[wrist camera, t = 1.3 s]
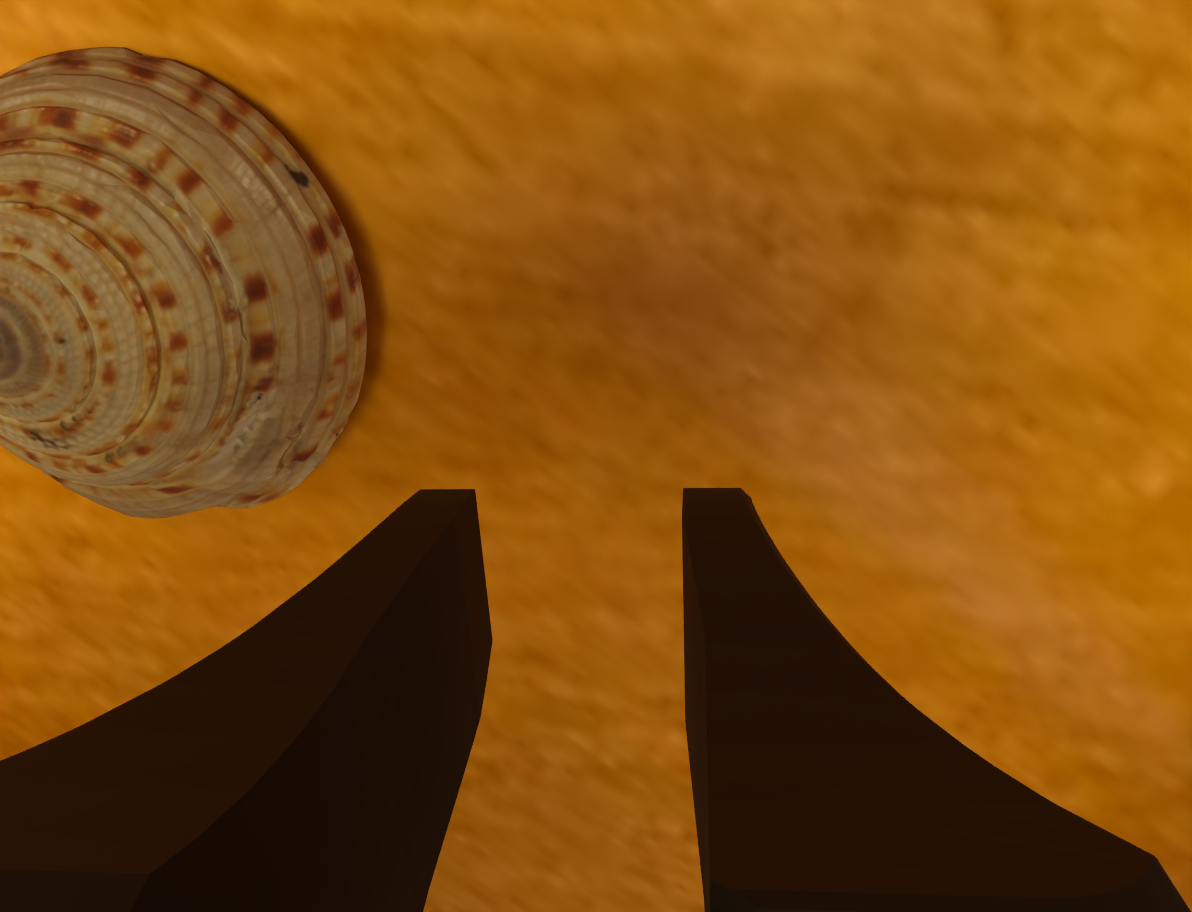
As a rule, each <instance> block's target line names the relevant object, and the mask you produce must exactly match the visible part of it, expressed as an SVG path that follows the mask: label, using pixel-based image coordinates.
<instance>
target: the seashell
mask: <svg viewBox="0 0 1192 912" xmlns="http://www.w3.org/2000/svg"><path fill="white" fill-rule="evenodd" d="M366 343H367V327H366V308H365V301H364V295H363V290H362V284H361V278H360V274H359V271H358V268H357V265H356V261H355V257H354V253H353V250H352V247H351V244H350V242H349V239H348V236H347V233H346V231H345V229H344V226H343V224H342V222H341V220H340V218H339V216H338V214H337V211H336V209H335V208H334V206H333V204H332V202H331V200H330V199H329V197H328V195H327V193H326V192H325V190H324V189H323V187H322V186H321V184H320V182H319V181H318V180H317V178H316V177H315V175H314V174H313V173H312V171H311V170H310V169H309V167H308V166H307V165H306V163H305V162H304V160H303V159H302V158H301V156H300V155H299V154H298V152H297V151H296V150H295V149H294V148H293V147H292V145H291V144H290V143H289V142H288V141H287V140H286V138H285V137H284V136H283V135H282V134H281V132H280V131H279V130H278V129H276V128H275V127H274V126H273V125H272V124H271V123H270V122H269V121H268V120H267V119H266V118H265V117H264V116H263V115H262V114H261V113H259V112H258V111H257V110H256V109H254V108H253V107H252V106H250V105H249V104H248V103H246V102H245V101H244V100H242V99H241V98H240V97H238V96H237V95H236V94H234V93H233V92H232V91H230V90H229V89H228V88H226V87H224V86H223V85H221V84H219V83H217V82H216V81H214V80H212V79H211V78H209V77H207V76H206V75H204V74H202V73H200V72H199V71H196V70H194V69H192V68H190V67H187V66H185V65H183V64H181V63H178V62H176V61H174V60H168V59H162V58H157V57H151V56H145V55H142V54H140V53H137V52H134V51H131V50H128V49H125V48H113V47H99V48H89V49H79V50H70V51H65V52H61V53H56V54H52V55H47V56H43V57H39V58H36V59H34V60H32V61H30V62H28V63H26V64H24V65H22V66H20V67H18V68H15V69H13V70H11V71H9V72H7V73H5V74H3V75H2V76H0V445H2V446H3V447H4V448H6V449H7V450H8V451H10V452H11V453H13V454H14V455H16V456H17V457H19V458H21V459H22V460H24V461H25V462H27V463H29V464H31V465H33V466H35V467H37V468H39V469H41V470H42V471H43V472H44V474H46V475H48V476H50V477H51V478H53V479H55V480H57V481H58V482H60V483H61V484H62V485H63V486H64V487H66V488H68V489H70V490H72V491H74V492H76V493H78V494H80V495H82V496H84V497H86V498H88V499H90V500H92V501H94V502H96V503H98V504H100V505H103V506H105V507H108V508H110V509H113V510H115V511H118V512H120V513H123V514H125V515H128V516H132V517H142V518H164V517H171V516H176V515H181V514H185V513H189V512H193V511H197V510H202V509H206V508H210V507H214V506H219V507H225V508H248V507H252V506H256V505H260V504H264V503H266V502H269V501H271V500H274V499H276V498H278V497H281V496H283V495H284V494H286V493H287V492H289V491H291V490H292V489H294V488H295V487H297V486H299V485H300V484H301V483H302V482H303V481H304V480H305V478H306V477H307V476H308V475H309V474H310V473H311V472H312V471H313V470H314V469H316V468H317V467H318V466H319V465H321V464H322V463H323V462H324V460H325V458H326V456H327V454H328V452H329V450H330V447H331V446H332V445H333V443H334V442H335V440H336V439H337V438H338V436H339V435H340V434H341V433H342V432H343V430H344V429H343V427H344V426H345V425H346V424H347V423H348V417H349V416H350V414H351V412H352V410H353V408H354V406H355V404H356V403H357V401H358V397H359V393H360V389H361V384H362V380H363V375H364V369H365V363H366Z"/></svg>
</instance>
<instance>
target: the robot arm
mask: <svg viewBox="0 0 1192 912" xmlns="http://www.w3.org/2000/svg"><path fill="white" fill-rule="evenodd" d="M682 540H683V602H684V664H685V722H686V731H687V741H688V751H689V760H690V770H691V780H692V789H693V798H694V808H695V817H696V827H697V836H698V846H699V855H700V865H701V874H702V883H703V893H704V905H705V912H1191V911H1190V909H1189V908H1188V906H1187V905H1186V903H1185V902H1184V900H1183V899H1182V897H1181V896H1180V894H1179V892H1178V891H1177V889H1176V888H1175V886H1174V885H1173V883H1172V882H1171V880H1170V879H1169V877H1168V875H1167V874H1166V872H1165V871H1164V869H1163V867H1162V866H1161V864H1160V863H1159V861H1158V859H1157V858H1156V857H1155V856H1154V855H1152V854H1150V853H1148V852H1146V851H1144V850H1142V849H1140V848H1138V847H1136V846H1134V845H1133V844H1131V843H1129V842H1127V841H1125V840H1123V839H1121V838H1119V837H1117V836H1115V835H1113V834H1112V833H1110V832H1108V831H1106V830H1104V829H1102V828H1100V827H1098V826H1096V825H1094V824H1092V823H1091V822H1089V821H1087V820H1085V819H1083V818H1081V817H1079V816H1077V815H1075V814H1073V813H1071V812H1069V811H1068V810H1066V809H1064V808H1062V807H1060V806H1058V805H1056V804H1055V803H1053V802H1051V801H1049V800H1048V799H1046V798H1044V797H1043V796H1041V795H1039V794H1038V793H1036V792H1035V791H1033V790H1031V789H1030V788H1028V787H1027V786H1025V785H1023V784H1022V783H1020V782H1019V781H1017V780H1016V779H1014V778H1012V777H1011V776H1009V775H1008V774H1006V773H1004V772H1003V771H1001V770H1000V769H998V768H996V767H995V766H993V765H992V764H990V763H989V762H988V761H986V760H985V759H983V758H982V757H980V756H979V755H977V754H976V753H975V752H973V751H972V750H970V749H969V748H967V747H966V746H964V745H963V744H962V743H961V742H959V741H958V740H957V739H955V738H954V737H953V736H951V735H950V734H949V733H947V732H946V731H945V730H944V729H942V728H941V727H940V726H938V725H937V724H936V723H934V722H933V721H932V720H931V719H929V718H928V717H927V716H925V715H924V714H923V713H921V712H920V711H919V710H917V709H916V708H915V707H914V706H913V705H912V704H911V703H909V702H908V701H907V700H906V699H905V698H904V697H902V696H901V695H900V694H899V693H898V692H897V691H896V690H895V689H894V688H893V687H892V686H891V685H890V684H889V683H888V682H887V681H885V680H884V679H883V678H882V677H881V676H880V675H879V674H878V673H877V672H876V671H875V670H874V669H873V668H872V667H871V666H870V665H869V664H868V663H867V662H866V661H865V660H864V659H863V658H862V657H861V656H860V655H859V653H858V652H857V651H856V650H855V649H854V648H853V647H852V646H851V645H850V644H849V643H848V641H847V640H846V639H845V638H844V637H843V636H842V634H841V633H840V632H839V631H838V630H837V629H836V627H835V626H834V625H833V624H832V623H831V622H830V620H829V619H828V618H827V617H826V616H825V614H824V613H823V612H822V611H821V609H820V608H819V607H818V606H817V604H816V603H815V602H814V600H813V599H812V598H811V597H810V595H809V594H808V592H807V591H806V590H805V588H804V587H803V586H802V584H801V583H800V581H799V580H798V579H797V577H796V576H795V574H794V573H793V572H792V570H791V569H790V567H789V566H788V565H787V563H786V562H785V560H784V559H783V557H782V555H781V554H780V552H779V551H778V549H777V548H776V546H775V544H774V543H773V541H772V539H771V538H770V536H769V534H768V533H767V531H766V529H765V527H764V526H763V524H762V522H761V520H760V518H759V516H758V514H757V512H756V510H755V508H754V505H753V503H752V500H751V498H750V497H749V496H748V495H747V494H746V493H745V492H744V491H743V490H742V489H741V488H683V506H682ZM491 647H492V632H491V624H490V615H489V606H488V598H487V589H486V580H485V572H484V563H483V555H482V546H481V537H480V529H479V520H478V512H477V503H476V494H475V489H429V490H419V491H418V492H417V493H415V494H414V495H413V496H412V497H410V498H409V499H408V500H407V501H405V502H404V503H403V504H402V505H401V506H400V507H398V508H397V509H396V510H395V511H394V512H393V513H392V514H390V515H389V516H388V517H387V518H386V519H385V520H384V521H383V522H381V523H380V524H379V525H378V526H377V527H376V528H375V529H373V530H372V531H371V532H370V533H369V534H368V535H367V536H365V537H364V538H363V539H362V540H361V541H360V542H359V543H357V544H356V545H355V546H354V547H353V548H351V549H350V550H349V551H348V552H347V553H346V554H344V555H343V556H342V557H341V558H340V559H338V560H337V561H336V562H335V563H334V564H333V565H331V566H330V567H329V568H328V569H327V570H326V571H324V572H323V573H322V574H321V575H320V576H318V577H317V578H316V579H315V580H313V581H312V582H311V583H309V584H308V585H307V586H305V587H304V588H303V589H301V590H300V591H299V592H297V593H296V594H295V595H294V596H292V597H291V598H290V599H288V600H287V601H286V602H284V603H283V604H282V605H280V606H279V607H278V608H276V609H275V610H274V611H272V612H271V613H270V614H269V615H267V616H266V617H265V618H263V619H262V620H261V621H259V622H258V623H257V624H255V625H254V626H253V627H251V628H250V629H248V630H247V631H245V632H244V633H242V634H241V635H240V636H238V637H237V638H235V639H234V640H232V641H231V642H229V643H228V644H226V645H225V646H223V647H222V648H220V649H219V650H217V651H215V652H214V653H212V654H210V655H209V656H207V657H206V658H204V659H202V660H201V661H199V662H197V663H196V664H194V665H193V666H191V667H189V668H188V669H186V670H184V671H183V672H181V673H180V674H178V675H176V676H174V677H173V678H171V679H169V680H167V681H166V682H164V683H162V684H161V685H159V686H157V687H155V688H153V689H151V690H149V691H147V692H145V693H143V694H141V695H139V696H137V697H135V698H134V699H132V700H130V701H128V702H126V703H124V704H122V705H120V706H118V707H116V708H114V709H112V710H110V711H108V712H107V713H105V714H103V715H101V716H99V717H97V718H95V719H93V720H91V721H89V722H87V723H85V724H83V725H81V726H79V727H77V728H75V729H73V730H71V731H69V732H66V733H64V734H62V735H60V736H57V737H55V738H53V739H51V740H48V741H46V742H44V743H42V744H39V745H37V746H35V747H33V748H30V749H28V750H26V751H24V752H21V753H19V754H16V755H14V756H11V757H9V758H6V759H4V760H2V761H0V912H423V910H424V906H425V902H426V898H427V894H428V890H429V887H430V883H431V880H432V877H433V874H434V870H435V867H436V864H437V860H438V857H439V854H440V851H441V847H442V844H443V841H444V837H445V834H446V831H447V828H448V824H449V821H450V818H451V814H452V811H453V808H454V805H455V801H456V798H457V795H458V791H459V788H460V785H461V782H462V778H463V775H464V772H465V768H466V765H467V761H468V758H469V755H470V751H471V748H472V745H473V741H474V738H475V734H476V731H477V727H478V724H479V720H480V716H481V710H482V704H483V699H484V693H485V687H486V680H487V674H488V667H489V660H490V653H491Z"/></svg>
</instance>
